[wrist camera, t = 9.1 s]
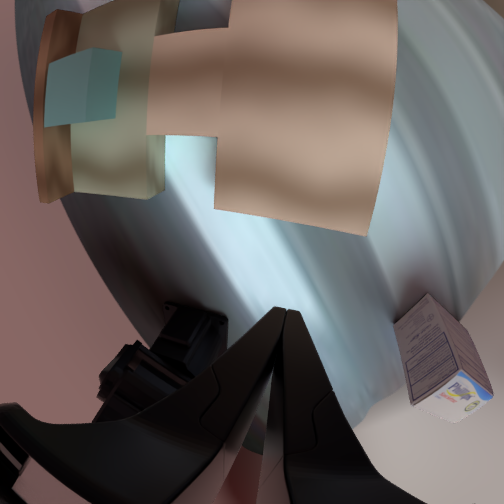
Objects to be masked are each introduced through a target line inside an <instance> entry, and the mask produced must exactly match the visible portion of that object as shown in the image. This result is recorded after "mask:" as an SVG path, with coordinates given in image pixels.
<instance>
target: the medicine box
mask: <svg viewBox="0 0 504 504" xmlns="http://www.w3.org/2000/svg"><path fill="white" fill-rule="evenodd" d="M393 328H394V332H395V335H396V339H397V343H398V346H399V351H400V355H401V360H402V364H403V369H404V373H405V378H406V383H407V388H408V394H409V399H410V403H411V405H412V406H413V407H415V408H418V409H420V410H423V411H425V412H427V413H429V414H432V415H434V416H436V417H439V418H442V419H444V420H446V421H449V422H452V423H457V422H459V421H460V420H462V419H464V418H465V417H467V416H469V415H470V414H472V413H473V412H475V411H476V410H478V409H479V408H480V407H482V406H483V405H484V404H485V403H487V402H488V401H489V400H490V399H491V398H492V397H493V396H494V395H493V390H492V387H491V384H490V381H489V379H488V376H487V373H486V371H485V369H484V366H483V364H482V361H481V359H480V357H479V354H478V352H477V350H476V347H475V345H474V343H473V341H472V339H471V337H470V335H469V333H468V331H467V330H466V329H465V328H464V327H463V326H462V325H461V324H460V323H459V322H458V321H457V320H456V319H455V318H454V317H453V316H452V315H451V314H450V313H449V312H448V311H447V310H446V309H444V308H443V307H442V306H441V305H440V304H439V303H438V302H437V301H436V300H435V299H434V298H432V297H431V296H430V294H429V293H427V294H426V295H425V296H424V297H423V298H422V299H421V300H420V301H419V302H418V303H417V304H416V305H415V306H414V307H413V308H412V309H411V310H410V311H408V312H407V313H406V314H405V315H404V316H403V317H402V318H401V319H400V320H399V321H398V322H396V323H395V324H394V325H393Z"/></svg>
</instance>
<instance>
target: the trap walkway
mask: <svg viewBox="0 0 504 504" xmlns="http://www.w3.org/2000/svg"><path fill="white" fill-rule="evenodd" d="M178 6H179V0H114V1H112V2H109V3H107V4H104V5H102V6H99V7H97V8H95V9H93V10H90V11H88V12H86V13H84V14H80V13H75V12H70V11H64V10H58V9H57V10H55V11H54V12H52V13H51V14H49V15H47V16H46V20H45V24H44V28H43V33H42V38H41V43H40V49H39V55H38V62H37V70H36V79H35V91H34V114H33V131H34V155H35V167H36V177H37V185H38V192H39V199H40V202H43V203H51V202H53V201H55V200H57V199H60V198H62V197H64V196H66V195H68V194H70V193H73V192H83V193H93V194H103V195H112V196H121V197H130V198H138V199H146V200H147V199H149V198H151V197H153V196H155V195H157V194H158V193H160V192H162V191H164V190H165V135H187V136H209V137H218V140H217V156H216V173H215V193H214V209H218V210H224V211H231V212H237V213H243V214H249V215H255V216H261V217H267V218H273V219H278V220H284V221H290V222H295V223H301V224H306V225H311V226H317V227H322V228H327V229H332V230H337V231H342V232H347V233H352V234H357V235H361V236H367V233H368V229H369V225H370V222H371V218H372V214H373V210H374V206H375V202H376V197H377V193H378V189H379V184H380V179H381V175H382V170H383V165H384V159H385V154H386V148H387V142H388V136H389V130H390V123H391V116H392V108H393V99H394V89H395V78H396V64H397V38H398V15H397V0H232V3H231V11H230V18H229V26H228V28H213V29H202V30H192V31H184V32H177V33H174V30H175V24H176V17H177V11H178ZM92 47H95V48H101V49H107V50H113V51H119V52H122V58H121V65H120V72H119V81H118V91H117V102H116V117H115V119H106V120H98V121H91V122H83V123H74V124H65V125H58V126H51V127H45V128H44V114H45V96H46V85H47V76H48V68H49V63H52V62H54V61H57V60H59V59H61V58H64V57H67V56H69V55H72V54H75V53H77V52H80V51H83V50H86V49H89V48H92Z"/></svg>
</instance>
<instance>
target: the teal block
mask: <svg viewBox="0 0 504 504" xmlns="http://www.w3.org/2000/svg"><path fill="white" fill-rule="evenodd" d="M121 58H122V52H119V51H113V50H107V49H101V48H95V47H92V48H89V49H86V50H83V51H80V52H77V53H75V54H72V55H69V56H67V57H64V58H61V59H59V60H57V61H54V62H52V63H49V68H48V76H47V85H46V96H45V114H44V128H45V127H51V126H58V125H65V124H74V123H83V122H91V121H98V120H106V119H115V117H116V102H117V91H118V81H119V72H120V65H121Z"/></svg>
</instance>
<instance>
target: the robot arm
mask: <svg viewBox="0 0 504 504" xmlns="http://www.w3.org/2000/svg"><path fill="white" fill-rule="evenodd" d="M163 312H164V319H165V326H164V328H163V329H162V331H161V332H160V334H159V336H158V338H157V339H156V340H155V342H154V343H153V345H152V346H151V348H150V349H147V348H146V347H144V346H143V345H142V343H141V342H140V341H138V340H137V341H136V342H135V343H134V344H133V345H128V344H125V345H124V347H123V348H122V349H121V351H120V352H119V353H118V354H117V356H116V357H115V358H114V359H113V360H112V361H111V362H110V363H109V364H108V365H107V366H106V367H105V368H104V369H103V370H102V372H101V373H100V375H99V380H100V384H101V385H100V387H99V389H100V391H99V393H98V395H97V398H98V399H99V400H101V401H103V402H104V403H103V405H102V407H101V408H100V410H99V411H98V413H97V415H96V416H95V418H94V419H93V421H92V423H85V424H84V423H82V424H50V423H45V422H41V421H39V420H37V419H35V418H33V417H32V416H31V415H30V414H29V413H28V412H27V411H26V410H24V409H23V408H22V407H21V406H20V405H19V404H18V403H15V402H14V403H3V404H0V504H212V503H213V502H214V500H215V498H216V496H217V494H218V492H219V490H220V488H221V486H222V484H223V481H224V480H225V478H226V476H227V474H228V472H229V470H230V468H231V466H232V464H233V462H234V460H235V458H236V455H237V453H238V451H239V449H240V447H241V445H242V443H243V440H244V438H245V436H246V434H247V431H248V429H249V427H250V425H251V422H252V420H253V418H254V416H255V413H256V411H257V409H258V406H259V404H260V401H261V399H262V397H263V394H264V392H265V389H266V387H267V384H268V382H269V379H270V377H271V374H272V371H273V374H272V382H271V391H270V401H269V410H268V419H267V427H266V436H265V444H264V452H263V459H262V467H261V475H260V481H259V490H258V495H257V501H256V504H427V503H425V502H423V501H421V500H419V499H418V498H415V497H414V496H412V495H411V494H409V493H407V492H406V491H404V490H402V489H401V488H399V487H397V486H396V485H394V484H393V483H391V482H390V481H388V480H386V479H385V478H384V477H383V476H382V475H381V474H380V473H379V472H378V471H377V470H376V469H375V467H374V466H373V464H372V463H371V461H370V459H369V458H368V456H367V454H366V453H365V451H364V449H363V447H362V446H361V444H360V442H359V441H358V439H357V437H356V436H355V434H354V432H353V430H352V428H351V427H350V425H349V423H348V421H347V419H346V417H345V415H344V413H343V411H342V409H341V407H340V404H339V402H338V400H337V397H336V395H335V393H334V391H332V390H333V388H332V386H331V383H330V381H329V378H328V376H327V374H326V371H325V369H324V367H323V364H322V362H321V359H320V357H319V355H318V352H317V350H316V348H315V345H314V343H313V341H312V338H311V336H310V334H309V331H308V329H307V327H306V324H305V322H304V320H303V318H302V315H301V313H300V312H299V311H296V310H291V309H288V310H287V311H286V309H285V308H281V307H276V306H275V307H273V308H272V309H271V310H270V311H269V312H267V313H266V314H265V315H264V316H263V317H262V318H261V319H260V320H259V321H258V322H257V323H256V324H255V325H254V326H253V327H251V328H250V329H249V330H248V331H247V332H246V333H245V334H244V335H243V336H242V337H241V338H240V339H238V340H237V341H236V342H235V343H234V344H233V345H232V346H231V347H230V348H228V349H227V340H228V319H227V318H226V317H224V316H221V315H217V314H213V313H209V312H205V311H201V310H197V309H193V308H190V307H186V306H182V305H179V304H175V303H172V302H165V303H164V305H163ZM285 315H286V316H285ZM222 321H223V322H222ZM275 359H276V360H275ZM274 363H275V364H274ZM273 367H274V368H273Z"/></svg>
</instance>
